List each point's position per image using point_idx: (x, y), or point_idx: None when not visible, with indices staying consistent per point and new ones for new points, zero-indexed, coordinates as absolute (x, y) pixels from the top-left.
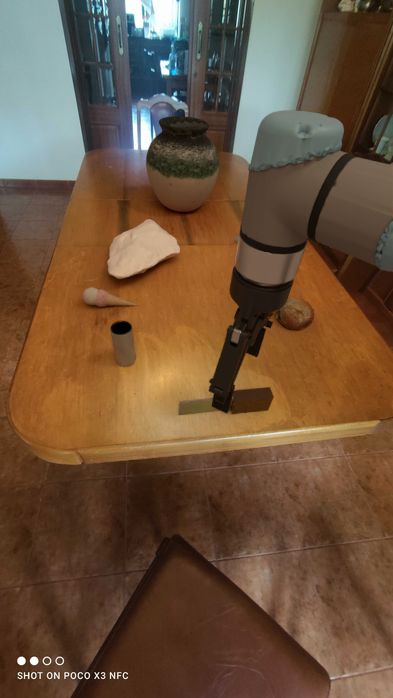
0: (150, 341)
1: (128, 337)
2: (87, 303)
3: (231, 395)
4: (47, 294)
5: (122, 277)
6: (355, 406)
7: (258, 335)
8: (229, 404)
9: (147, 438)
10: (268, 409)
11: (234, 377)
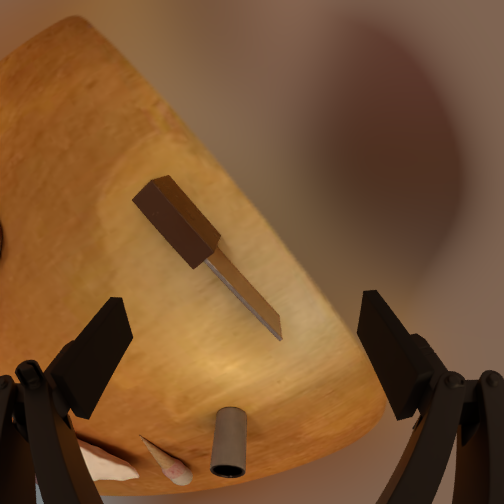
0: (178, 406)
1: (231, 456)
2: (191, 472)
3: (416, 344)
4: (208, 488)
5: (130, 468)
6: (78, 50)
7: (84, 370)
8: (394, 314)
9: (340, 330)
10: (167, 175)
11: (459, 419)
